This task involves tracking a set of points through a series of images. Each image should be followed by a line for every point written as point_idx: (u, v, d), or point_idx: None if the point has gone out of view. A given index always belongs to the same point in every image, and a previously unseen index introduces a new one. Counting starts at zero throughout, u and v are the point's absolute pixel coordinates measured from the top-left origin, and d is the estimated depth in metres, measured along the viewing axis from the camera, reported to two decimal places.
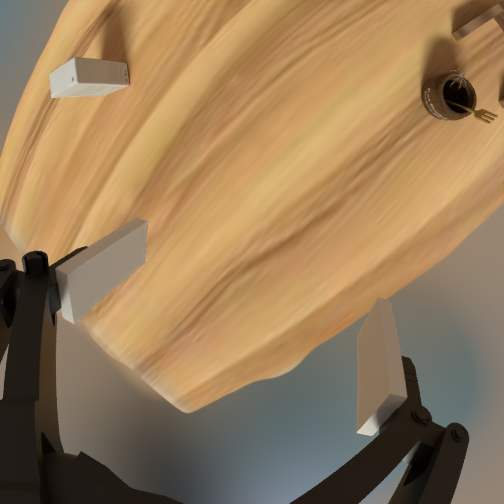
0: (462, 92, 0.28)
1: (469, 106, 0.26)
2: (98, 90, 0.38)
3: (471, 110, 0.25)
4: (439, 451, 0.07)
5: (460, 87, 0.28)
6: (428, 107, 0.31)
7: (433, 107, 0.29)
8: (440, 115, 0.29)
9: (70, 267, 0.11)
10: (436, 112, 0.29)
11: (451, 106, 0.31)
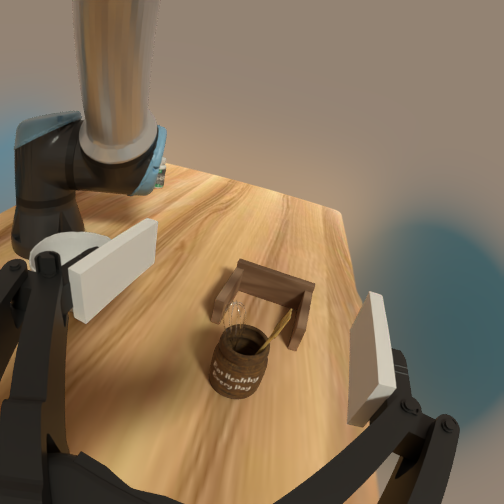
0: (249, 354, 0.35)
1: (263, 348, 0.32)
2: None
3: (267, 341, 0.30)
4: (429, 443, 0.07)
5: (245, 350, 0.35)
6: (226, 387, 0.31)
7: (230, 376, 0.30)
8: (242, 379, 0.30)
9: (83, 267, 0.12)
10: (236, 380, 0.30)
11: None
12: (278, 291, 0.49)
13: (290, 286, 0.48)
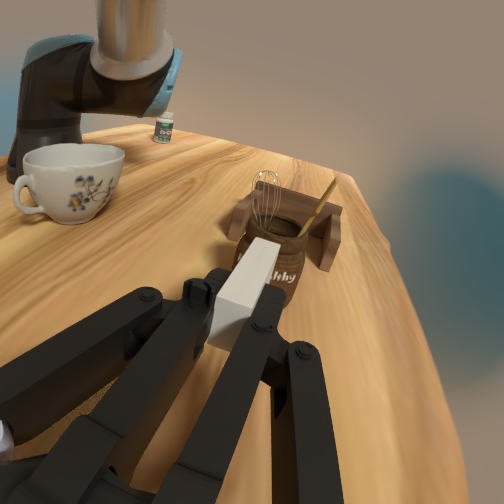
0: None
1: None
2: None
3: (306, 223, 0.25)
4: (290, 376, 0.09)
5: None
6: None
7: None
8: (276, 275, 0.24)
9: (231, 294, 0.13)
10: None
11: None
12: (301, 215, 0.43)
13: None
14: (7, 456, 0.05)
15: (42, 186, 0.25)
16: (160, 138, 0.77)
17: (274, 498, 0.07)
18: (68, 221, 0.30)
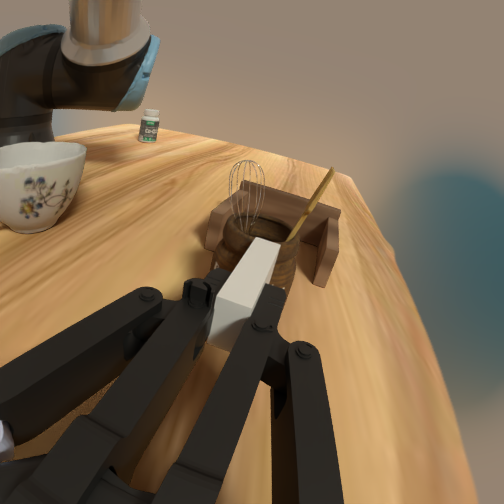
0: None
1: None
2: None
3: (296, 224, 0.20)
4: (290, 376, 0.09)
5: None
6: None
7: None
8: None
9: (231, 294, 0.13)
10: None
11: None
12: (293, 220, 0.37)
13: None
14: (7, 456, 0.05)
15: None
16: (145, 137, 0.71)
17: (274, 498, 0.07)
18: (24, 229, 0.24)
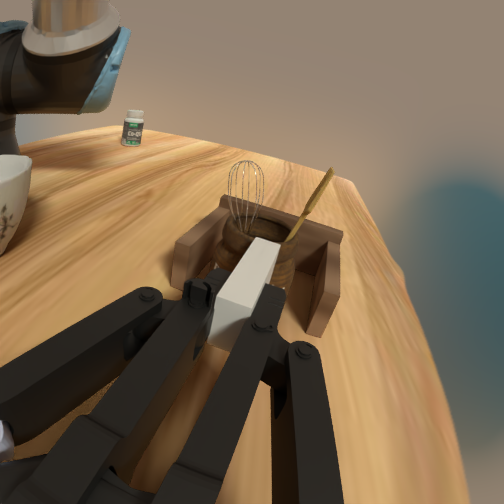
0: None
1: None
2: None
3: (296, 224, 0.20)
4: (290, 376, 0.09)
5: None
6: None
7: None
8: None
9: (231, 294, 0.13)
10: None
11: None
12: None
13: (304, 234, 0.30)
14: (7, 456, 0.05)
15: None
16: (128, 141, 0.64)
17: (274, 498, 0.07)
18: None
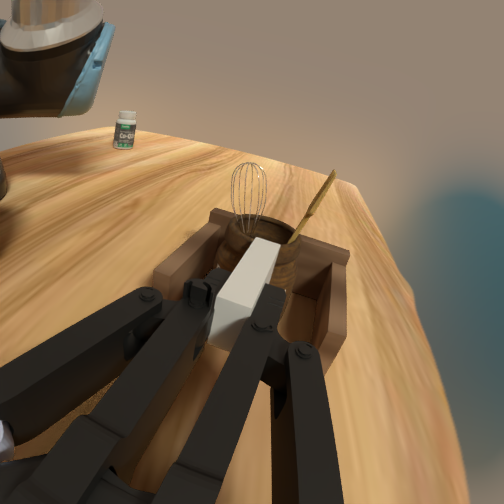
0: None
1: None
2: None
3: (298, 227, 0.20)
4: (290, 376, 0.09)
5: None
6: None
7: None
8: None
9: (231, 294, 0.13)
10: None
11: None
12: None
13: (305, 255, 0.26)
14: (7, 456, 0.05)
15: None
16: (119, 143, 0.61)
17: (274, 498, 0.07)
18: None
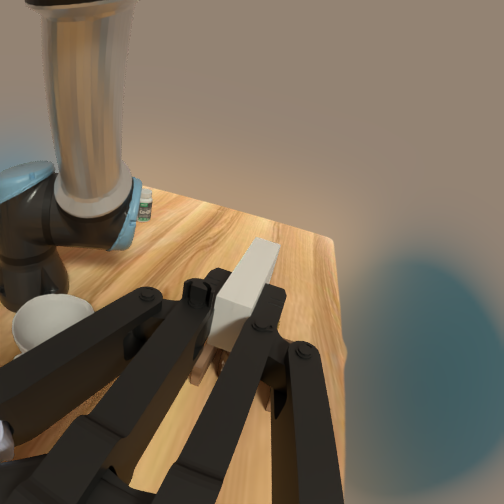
0: None
1: None
2: None
3: None
4: (290, 376, 0.09)
5: None
6: None
7: None
8: None
9: (231, 294, 0.13)
10: None
11: None
12: None
13: None
14: (7, 456, 0.05)
15: None
16: (140, 218, 0.81)
17: (274, 498, 0.07)
18: None
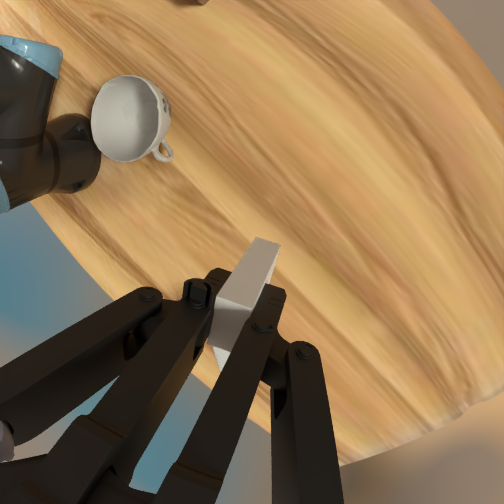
0: None
1: None
2: None
3: None
4: (290, 376, 0.09)
5: None
6: None
7: None
8: None
9: (231, 293, 0.13)
10: None
11: None
12: None
13: None
14: (7, 456, 0.05)
15: (161, 138, 0.39)
16: None
17: (274, 498, 0.07)
18: None
